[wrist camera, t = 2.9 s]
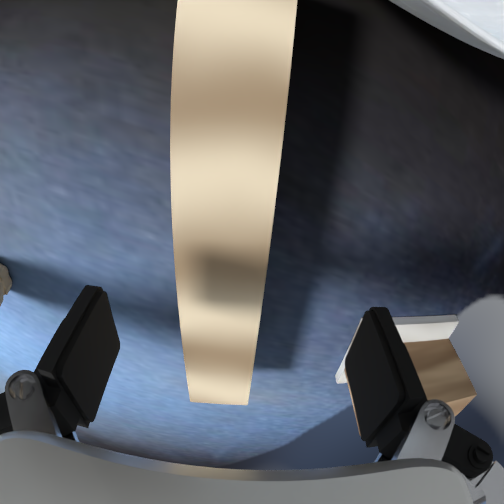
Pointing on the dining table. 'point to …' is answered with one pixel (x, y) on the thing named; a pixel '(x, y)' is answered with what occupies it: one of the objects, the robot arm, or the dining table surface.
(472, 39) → the serving bowl
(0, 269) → the handle
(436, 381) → the wooden block on base
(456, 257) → the dining table surface
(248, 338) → the beam
